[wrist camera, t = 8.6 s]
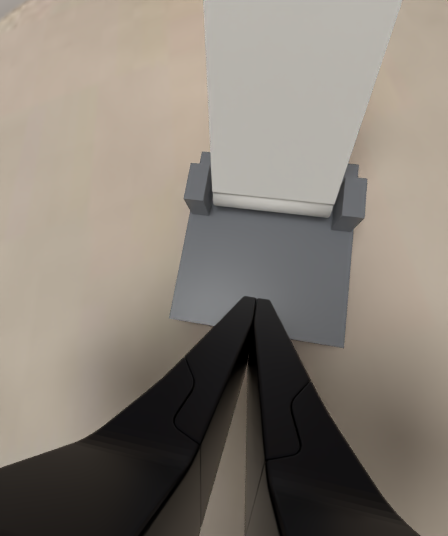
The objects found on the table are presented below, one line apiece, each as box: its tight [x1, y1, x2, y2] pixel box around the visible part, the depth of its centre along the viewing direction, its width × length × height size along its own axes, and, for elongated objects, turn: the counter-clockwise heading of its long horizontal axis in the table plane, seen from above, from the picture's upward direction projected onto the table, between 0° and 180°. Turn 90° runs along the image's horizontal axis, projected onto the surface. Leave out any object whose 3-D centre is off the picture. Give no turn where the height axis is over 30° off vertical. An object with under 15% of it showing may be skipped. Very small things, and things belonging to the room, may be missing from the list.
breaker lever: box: [203, 0, 402, 218], centre depth 11 cm, size 2×6×12 cm, turn 80°
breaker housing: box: [169, 152, 367, 348], centre depth 15 cm, size 10×9×4 cm
